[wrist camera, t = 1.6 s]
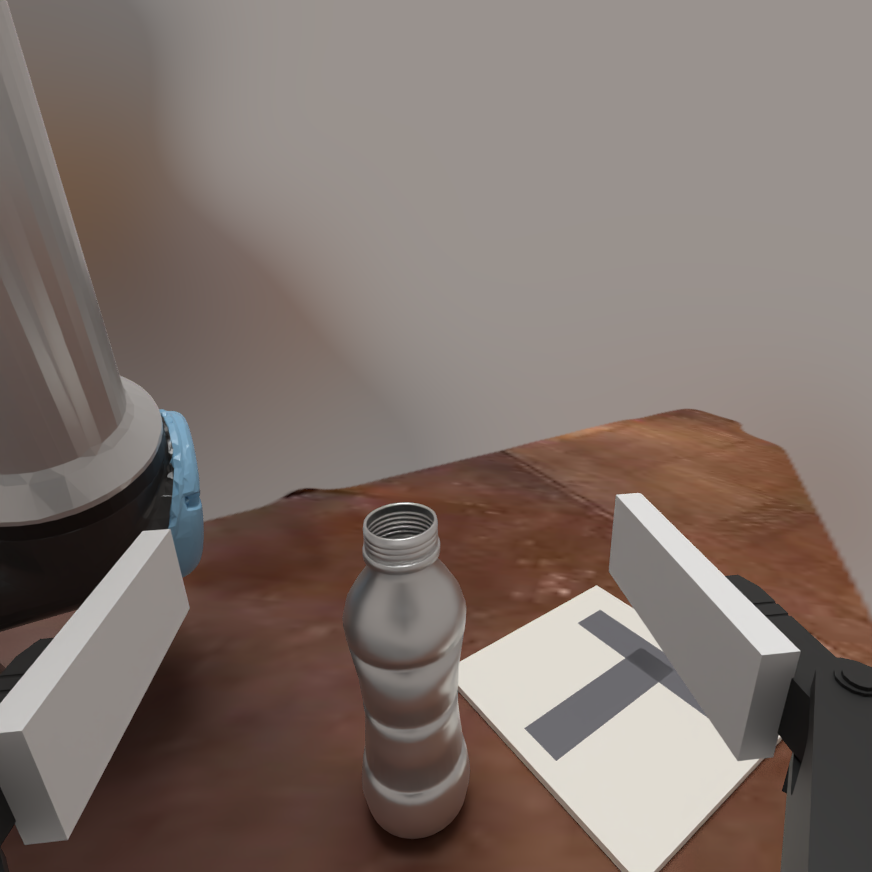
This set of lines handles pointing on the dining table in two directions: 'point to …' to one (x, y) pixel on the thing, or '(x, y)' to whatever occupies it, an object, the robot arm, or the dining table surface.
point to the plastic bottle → (408, 672)
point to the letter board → (606, 727)
